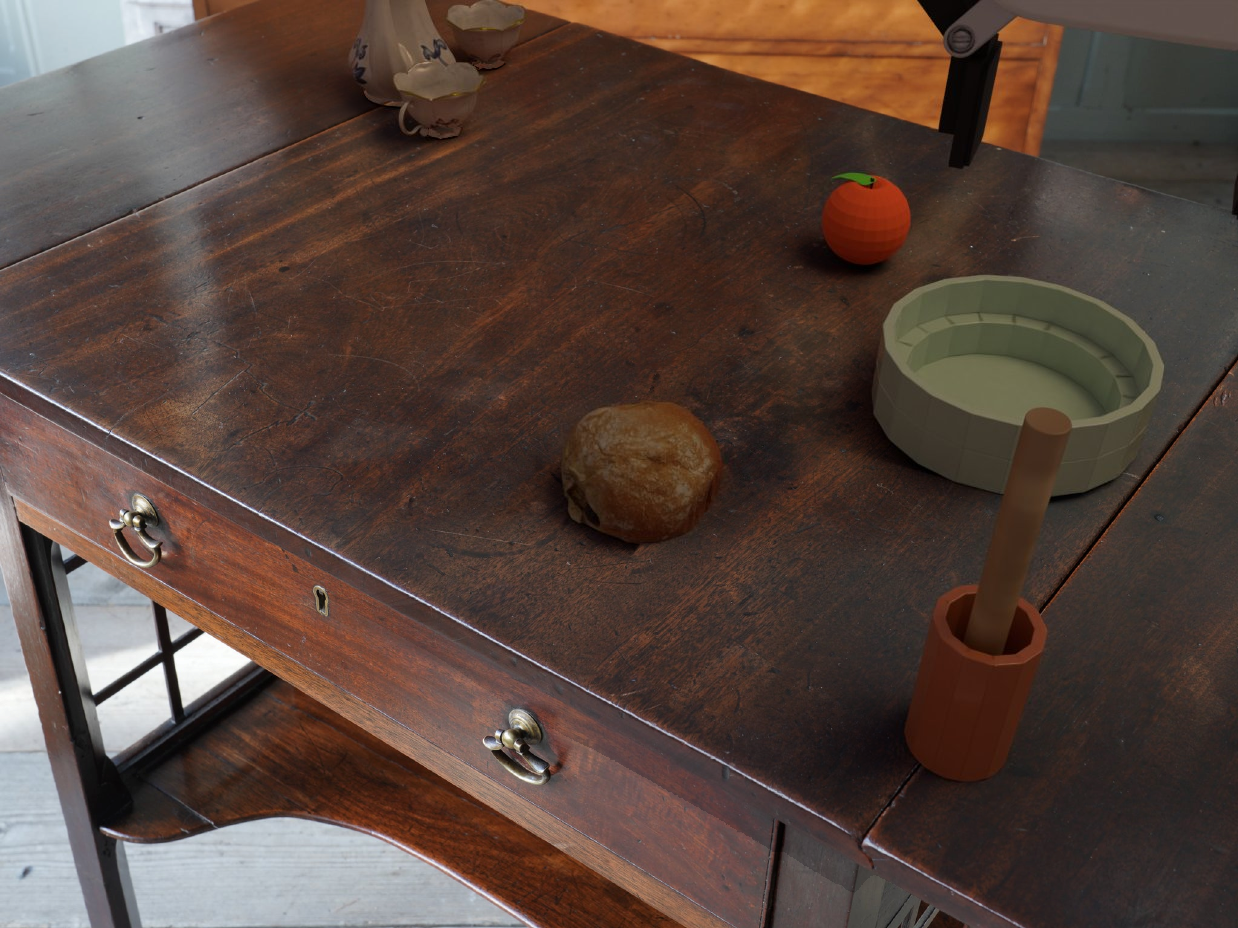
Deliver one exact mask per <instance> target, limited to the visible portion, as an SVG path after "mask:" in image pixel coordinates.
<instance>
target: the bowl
mask: <svg viewBox="0 0 1238 928" xmlns="http://www.w3.org/2000/svg"><path fill="white" fill-rule="evenodd" d="M1164 372H1165V364H1164V362H1163V359H1162V357H1161V355H1160V353H1159V350H1158V347H1157V344H1156V343H1155V341H1154V340H1153V339H1152V338H1151V337H1150V336H1149V335H1148V334H1147V333H1146V332H1145V331H1144V330H1143V329H1142V328H1141V327H1140V326H1139V324H1138V323H1137V322H1135V320H1133V318H1131V317H1129V316H1127V315H1126V314H1124V313H1122V312H1121V311H1120V310H1118V309H1116V308H1114V307H1113V306H1111V305H1110V304H1108V303H1106V302H1105V301H1103V300H1100V299H1098V298H1096V297H1093V296H1090V295H1088V294H1085V293H1084V292H1080V291H1077V290H1074V289H1073V288H1069V287H1067V286H1065V285H1061V284H1056V283H1051V282H1047V281H1042V280H1037V279H1033V278H1030V277H1029V278H1028V277H1023V276H1011V275H1010V276H1009V275H996V274H977V275H969V276H958V277H950V278H944V279H940V280H938V281H935V282H931V283H928V284H926V285H921V286H919V287H916V288H914V289H913V290H911V291H910V292H909V293H907V294H906V295H904V296H903V297H901V298H900V299H899V300H897V301H896V302H895V303H893V304H892V305H891V308H890V310H889V312H888V314H887V315H886V317H885V319H884V321H883V323H882V327H881V333H880V340H879V345H878V350H877V356H876V361H875V368H874V374H873V380H872V385H871V399H872V400H871V401H872V402H871V403H872V411H873V413H872V414H873V416H874V417H875V419H876V420H877V422H878V424H879V426H880V427H881V429H882V430H883V432H884V434H885V435H886V437H887V439H888V440H889V441H890V442H891V443H892V444H894V445H895V446H896V447H897V448H898V449H899V450H900V451H902V452H903V453H904V454H906V456H908V457H909V458H910V459H912V461H914V462H915V463H916V464H918V465H920V466H921V467H923V468H925V469H928V470H930V471H932V472H934V473H935V474H937V475H939V476H942V477H944V478H946V479H948V480H950V481H951V482H955V483H958V484H962V485H965V486H968V487H973V488H976V489H980V490H984V491H988V492H991V493H995V494H1000V495H1004V491H1005V488H1006V484H1007V480H1008V477H1009V473H1010V469H1011V466H1012V462H1013V458H1014V455H1015V451H1016V447H1017V444H1018V440H1019V436H1020V433H1021V429H1022V425H1023V422H1024V418H1025V415H1026V413H1027V412H1028V411H1030V410H1031V409H1034V408H1040V407H1045V408H1052V409H1055V410H1058V411H1060V412H1062V413H1064V414H1065V415H1066V416H1068V417H1069V419H1070V420H1071V423H1072V428H1071V431H1070V435H1069V438H1068V441H1067V444H1066V448H1065V451H1064V454H1063V458H1062V461H1061V464H1060V467H1059V471H1058V474H1057V477H1056V480H1055V484H1054V487H1053V490H1052V493H1051V497H1058V496H1066V495H1073V494H1079V493H1086V492H1088V491H1091V490H1093V489H1095V488H1097V487H1099V486H1101V485H1104V484H1106V483H1109V482H1111V481H1113V480H1115V479H1116V478H1119V476H1121V475H1122V473H1123V472H1124V471H1125V470H1126V469H1127V468H1128V467H1129V466H1130V465H1131V464H1132V462H1133V461H1135V459H1136V458H1137V456H1138V454H1139V452H1140V448H1141V445H1142V443H1143V440H1144V437H1145V434H1146V431H1147V428H1148V426H1149V423H1150V420H1151V417H1152V414H1153V411H1154V409H1155V406H1156V403H1157V400H1158V398H1159V395H1160V392H1161V388H1162V383H1163V378H1164ZM1051 497H1050V498H1051Z"/></svg>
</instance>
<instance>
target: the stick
mask: <svg viewBox="0 0 1238 928" xmlns="http://www.w3.org/2000/svg"><path fill="white" fill-rule="evenodd" d="M1071 428H1072V423H1071V420H1070V419H1069V417H1068V416H1066V415H1065V414H1064V413H1062V412H1060V411H1058V410H1055V409H1052V408H1045V407H1040V408H1034V409H1031V410H1030V411H1028V412H1027V413H1026V415H1025V418H1024V422H1023V425H1022V429H1021V433H1020V436H1019V440H1018V444H1017V447H1016V451H1015V455H1014V458H1013V462H1012V466H1011V469H1010V473H1009V477H1008V480H1007V484H1006V488H1005V491H1004V494H1002V499H1001V503H1000V505H999V510H998V512H997V513H998V514H997V517H996V520H995V525H994V528H993V532H992V536H991V539H990V542H989V546H988V550H987V554H986V558H985V560H984V565H983V568H982V572H981V576H980V580H979V582H978V584H979V586H978V590H977V593H976V597H975V601H974V604H973V608H972V612H971V615H970V619H969V623H968V626H967V630H966V634H965V637H964V641H963V644H965V645H966V646H967V647H968V648H970V649H972V650H976V651H979V652H982V653H985V654H988V655H992V656H999V655H1002V653H1003V650H1004V647H1005V643H1006V640H1007V637H1008V634H1009V630H1010V627H1011V624H1012V621H1013V617H1014V614H1015V611H1016V608H1017V604H1018V601H1019V598H1020V597H1021V594H1022V591H1023V588H1024V585H1025V582H1026V578H1027V575H1028V571H1029V568H1030V564H1031V560H1032V559H1033V555H1034V551H1035V549H1036V546H1037V542H1038V539H1039V536H1040V532H1041V529H1042V526H1043V523H1044V519H1045V516H1046V513H1047V510H1048V507H1049V502H1050V500H1051V493H1052V490H1053V487H1054V484H1055V480H1056V477H1057V474H1058V471H1059V467H1060V464H1061V461H1062V458H1063V454H1064V451H1065V448H1066V444H1067V441H1068V438H1069V435H1070V431H1071Z"/></svg>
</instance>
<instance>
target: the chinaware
mask: <svg viewBox="0 0 1238 928" xmlns="http://www.w3.org/2000/svg"><path fill="white" fill-rule="evenodd" d="M526 13H527V11H526V9H525V7H524V6H523V5H520V4H513V5H506V4H504V3H502V2H501V1H499V0H478V1H476V2H474V3H473V4H471V5H465V4H461V3H459V4H453V5H450V7H449V8H447V10H446V17H444V21H445V25H446V26H447V27H450V29H451V31H452V34H453V37H454V40H455V42H456V44H457V45H458V47H459V48H460V50H461V51H462V52H463V53H464V54H466V55H467V56H468V57H470V58H471V59H474V60H479V62H481V64H483V63H485V64H493V63H495V62H497V61H498V60H499V59H501V60H502V58H505V57H506V56H507V55H509V54H510V53H511V52H512V51H513V49H514V48H515V47H516V45H517V42H518V40H519V37H520V33H521V28H522V25H523V23H524V22H525V20H526ZM347 64H348V67H349V69H350V71H352V76H353V79H354V81H355V82H356V84H357V85H358V86H359V87H360V88H362V89H363V91H364V90H366V91H367V93H368V94H369V95H371V96H373V97H375V98H378V99H381V100H386V101H393V102H402V101H404V105H403V106H402V107H401V108H400V109H399V113H398V124H399V128H400V131H401V132H402V133H404V134H405V135H408V136H413V135H414V134H416V133H417V132H418V130H419V129H420V130H419V134H420V136H422V137H428V136H427V135H428V134H429V130H428V128H430V129H432V130H434V131H436V133H440V135H443V134H444V133H449V132H450V133H455V130H454V129H456V128H455V127H457V126H462V124H463V123H465V122H466V121H467V120H468V119H469V118H470V117H471V115H472V113H473V111H474V110H475V107H476V105H477V100H478V96H479V91H480V89H481V88H482V87H483V86H485V85H486V84H487V79H486V77H485V75H484V74H482V75H481V74H480V72H479V70H478V68H476V67H475V66H473V64H471V62H466V61H465V62H462V61H458V62H457V60H456V58H455V55H454V54H453V53H452V51H451V50H450V48H449V46H448V44H447V42H446V41H445V39H444V38H443V36H442V35H441V34H440V32H439V31H438V29H437V28H436V27H435V24H434V22H433V20H432V18H431V15H430V12H429V9H428V6H427V3H426V0H365V7H364V15H363V19H362V24H361V28H360V30H359V33H358V35H357V37H356V39H355V40H354V43H353V45H352V46H351V49H350V51H349V54H348V58H347ZM406 111H407V112H408V114H409V115H410V116H411V118H412V119H413V120H414V121H415V122H417V124H419V125H417V126H415V127H414V128H413V129H412V130H411V131H408V130H407V129H406V127H405V114H406Z"/></svg>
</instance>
